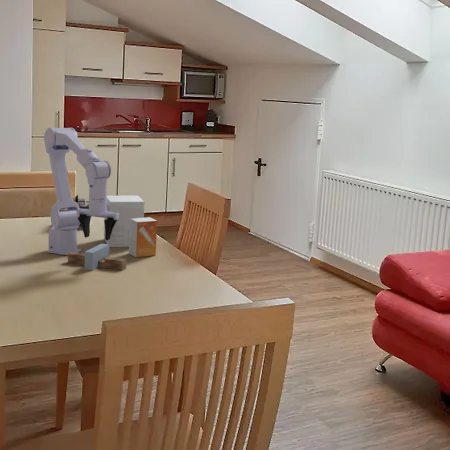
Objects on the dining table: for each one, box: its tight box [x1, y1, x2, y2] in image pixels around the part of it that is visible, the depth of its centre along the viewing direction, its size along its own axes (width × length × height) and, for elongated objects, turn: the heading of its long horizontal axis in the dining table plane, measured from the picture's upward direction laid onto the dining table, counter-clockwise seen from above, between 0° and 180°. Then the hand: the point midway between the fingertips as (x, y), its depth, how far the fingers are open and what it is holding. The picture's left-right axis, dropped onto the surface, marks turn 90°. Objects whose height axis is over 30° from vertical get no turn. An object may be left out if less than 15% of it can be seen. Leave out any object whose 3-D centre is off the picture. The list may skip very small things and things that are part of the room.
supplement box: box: [103, 195, 145, 248], centre depth 246 cm, size 13×13×18 cm
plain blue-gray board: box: [84, 243, 110, 271], centre depth 216 cm, size 3×12×6 cm, turn 164°
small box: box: [128, 216, 158, 258], centre depth 232 cm, size 8×6×13 cm
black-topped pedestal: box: [72, 194, 92, 226], centre depth 268 cm, size 28×26×13 cm
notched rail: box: [67, 252, 127, 271], centre depth 217 cm, size 20×3×3 cm, turn 74°
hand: (97, 238), depth 215 cm, fingers open, 7 cm apart
